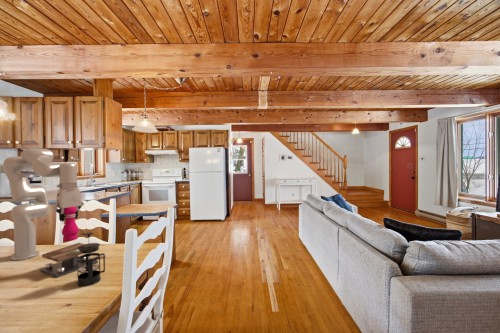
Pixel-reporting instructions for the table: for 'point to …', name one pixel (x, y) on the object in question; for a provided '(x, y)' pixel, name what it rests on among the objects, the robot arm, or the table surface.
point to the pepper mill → (70, 225)
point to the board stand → (64, 267)
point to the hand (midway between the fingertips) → (68, 219)
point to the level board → (63, 253)
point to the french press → (89, 264)
